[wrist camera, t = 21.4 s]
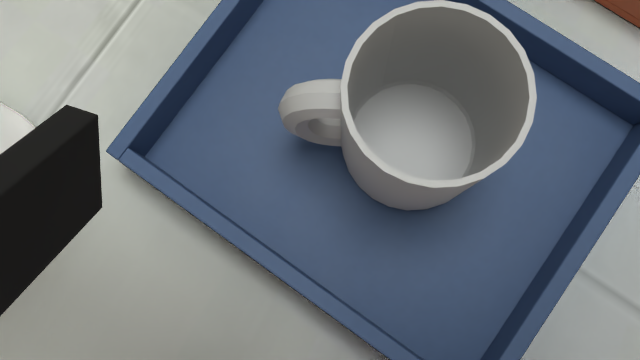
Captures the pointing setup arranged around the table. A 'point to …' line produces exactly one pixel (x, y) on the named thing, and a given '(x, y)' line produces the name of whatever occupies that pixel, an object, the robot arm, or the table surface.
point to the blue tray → (370, 215)
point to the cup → (421, 104)
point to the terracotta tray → (624, 9)
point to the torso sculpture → (12, 127)
